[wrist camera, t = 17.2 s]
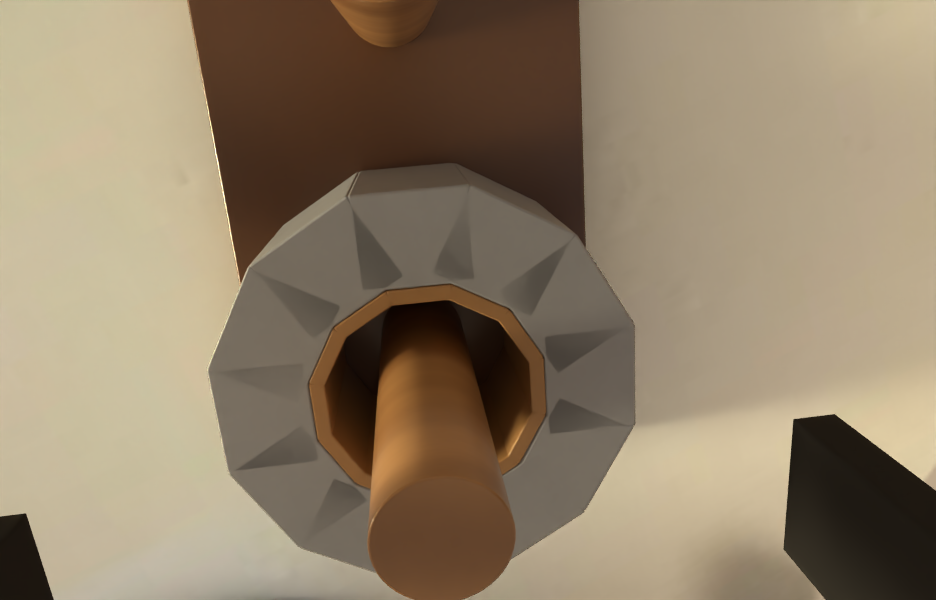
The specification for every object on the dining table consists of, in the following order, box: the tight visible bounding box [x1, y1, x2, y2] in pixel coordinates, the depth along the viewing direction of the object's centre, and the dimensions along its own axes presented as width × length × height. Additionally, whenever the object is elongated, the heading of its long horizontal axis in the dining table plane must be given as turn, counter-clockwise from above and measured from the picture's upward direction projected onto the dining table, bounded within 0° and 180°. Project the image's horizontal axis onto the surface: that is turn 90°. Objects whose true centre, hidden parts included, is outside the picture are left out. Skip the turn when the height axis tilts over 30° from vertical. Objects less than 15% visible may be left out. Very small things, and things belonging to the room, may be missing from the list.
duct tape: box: [207, 163, 635, 573], centre depth 20 cm, size 11×11×5 cm
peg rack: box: [187, 0, 586, 600], centre depth 17 cm, size 21×11×13 cm, turn 4°
